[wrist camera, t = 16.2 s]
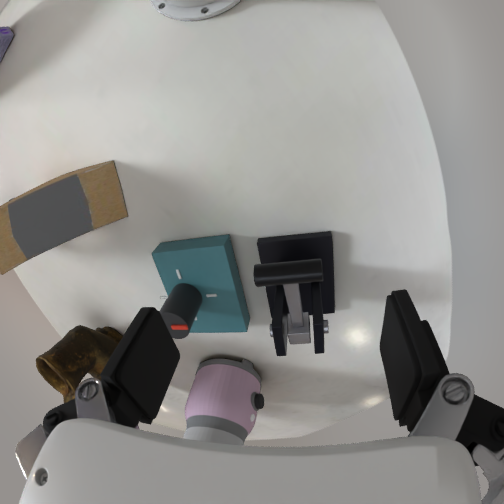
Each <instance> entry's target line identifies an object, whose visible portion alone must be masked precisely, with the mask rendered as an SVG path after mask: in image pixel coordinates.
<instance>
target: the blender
mask: <svg viewBox="0 0 504 504" xmlns="http://www.w3.org/2000/svg"><path fill="white" fill-rule="evenodd" d="M260 389H261V378H260V376H259V375H258V373H257V372H256V371H255V370H253V364H252V363H251V362H249V361H248V360H245V359H243V360H242V362H241V363H240V362H237V361H233V360H229V359H211V360H207V361H205V362H203V363H200V364H199V367H198V369H197V372H196V377H195V379H194V382H193V385H192V388H191V391H190V394H189V397H188V400H187V403H186V407H185V417H186V422H187V429H186V432H185V434H184V436H183V438H184V439H190V440H197V441H204V442H212V443H221V444H231V445H244V441H245V439H246V437H247V436H248V435H249V433H250V432H251V430H252V429H253V427H254V425H255V421H256V416H257V411H258V410H259V409H262V408H263V406H264V398H263V395H262V394H260Z"/></svg>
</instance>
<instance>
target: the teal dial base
mask: <svg viewBox="0 0 504 504" xmlns="http://www.w3.org/2000/svg"><path fill="white" fill-rule="evenodd" d="M152 256H153V259H154V262H155V264H156V267H157V270H158V272H159V275H160V277H161V280H162V282H163V285H164V287H165V290H166V292H167V295H168V296H169V294H170V293H171V291H172V289H173V288H174V286H176V285H177V284H180V283H186V284H190V285H192V286H194V287H195V288H197V289H198V290H199V292H200V293H201V295H202V304H201V306H200V308H199V311H198V313H197V315H196V318H195V320H194V322H193V325H192V327H191V329H190V332H189V333H223V332H247V330H248V325H249V320H250V317H249V313H248V309H247V305H246V301H245V297H244V293H243V289H242V285H241V281H240V277H239V273H238V269H237V264H236V260H235V256H234V252H233V248H232V244H231V240H230V236H229V234H228V235H220V236H212V237H203V238H195V239H187V240H179V241H171V242H163V243H160V244H159V245H158V246H157V247H156V249H155V250H154V251H153V252H152ZM168 296H160V299H167V298H168Z"/></svg>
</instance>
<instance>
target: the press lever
mask: <svg viewBox="0 0 504 504" xmlns="http://www.w3.org/2000/svg"><path fill="white" fill-rule="evenodd" d="M254 281H255V285H256V286H257V287H260V286H273V285H283V287H284V291H285V295H286V300H287V304H288V308H289V314H287V335H288V338H289V342H290V344H305V343H311V338H310V319H309V312H303V311H302V304H301V298H300V291H299V285H298V283H309V282H320V281H323V270H322V261H321V259H311V260H301V261H290V262H279V263H268V264H257V265H255V266H254Z"/></svg>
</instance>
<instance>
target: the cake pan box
mask: <svg viewBox="0 0 504 504" xmlns="http://www.w3.org/2000/svg"><path fill="white" fill-rule="evenodd" d="M13 36H14V35H13V33H12V31H11V30H10V28H9V27H0V62H1V59H2V57H3V55H4V53H5V51H6V49H7V47H8V45H9V43H10V42H11V40H12V38H13Z"/></svg>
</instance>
